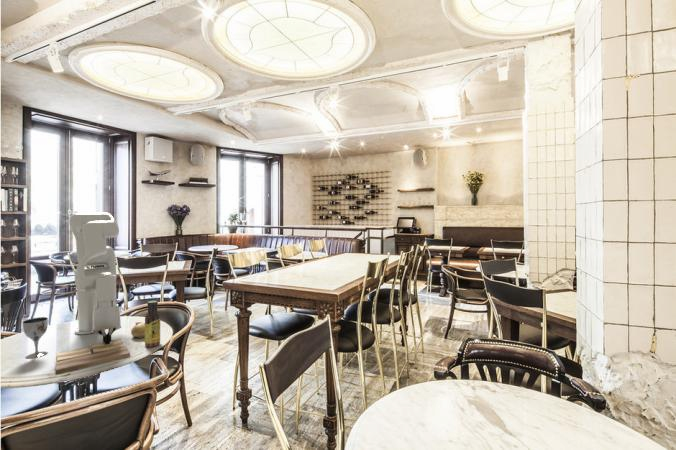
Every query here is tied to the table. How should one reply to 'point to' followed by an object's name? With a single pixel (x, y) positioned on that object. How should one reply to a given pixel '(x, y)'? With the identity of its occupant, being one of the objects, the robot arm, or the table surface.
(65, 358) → the oak plank
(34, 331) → the wine glass
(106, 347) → the oak plank
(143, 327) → the onion
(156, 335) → the sauce bottle
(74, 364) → the walnut board
